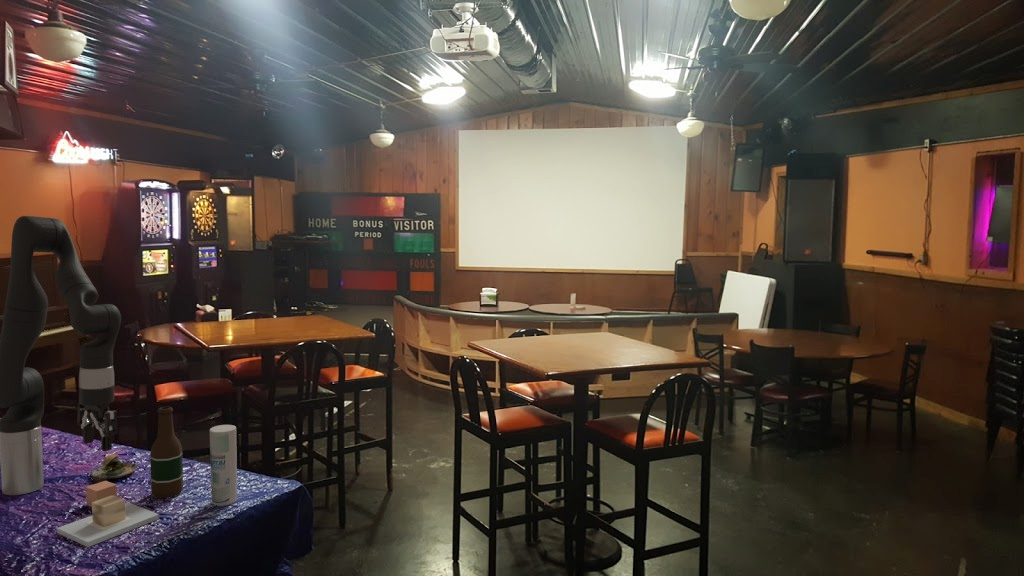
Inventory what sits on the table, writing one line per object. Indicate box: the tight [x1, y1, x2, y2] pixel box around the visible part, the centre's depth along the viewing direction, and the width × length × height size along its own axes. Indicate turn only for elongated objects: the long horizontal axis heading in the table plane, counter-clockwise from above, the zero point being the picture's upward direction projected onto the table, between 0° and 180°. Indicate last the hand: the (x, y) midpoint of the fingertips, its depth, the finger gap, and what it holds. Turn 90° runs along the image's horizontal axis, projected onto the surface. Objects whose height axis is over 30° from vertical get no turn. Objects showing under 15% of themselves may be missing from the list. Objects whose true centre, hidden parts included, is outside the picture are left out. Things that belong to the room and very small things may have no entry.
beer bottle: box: [149, 406, 184, 500], centre depth 179 cm, size 8×8×24 cm
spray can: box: [209, 424, 238, 507], centre depth 175 cm, size 6×6×20 cm
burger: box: [90, 451, 138, 483], centre depth 192 cm, size 12×12×8 cm
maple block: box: [91, 495, 126, 527], centre depth 161 cm, size 5×5×5 cm
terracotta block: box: [85, 480, 118, 508], centre depth 173 cm, size 5×5×5 cm
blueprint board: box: [56, 502, 160, 548], centre depth 161 cm, size 13×17×1 cm
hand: (97, 446), depth 167 cm, fingers open, 8 cm apart
